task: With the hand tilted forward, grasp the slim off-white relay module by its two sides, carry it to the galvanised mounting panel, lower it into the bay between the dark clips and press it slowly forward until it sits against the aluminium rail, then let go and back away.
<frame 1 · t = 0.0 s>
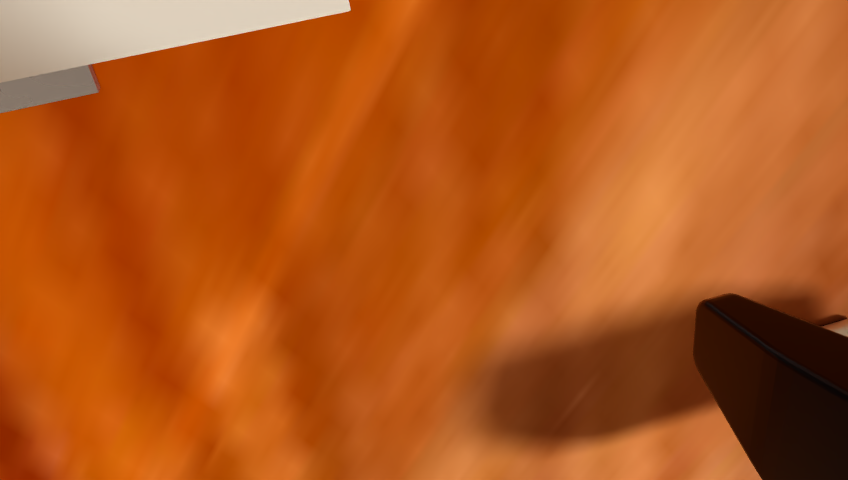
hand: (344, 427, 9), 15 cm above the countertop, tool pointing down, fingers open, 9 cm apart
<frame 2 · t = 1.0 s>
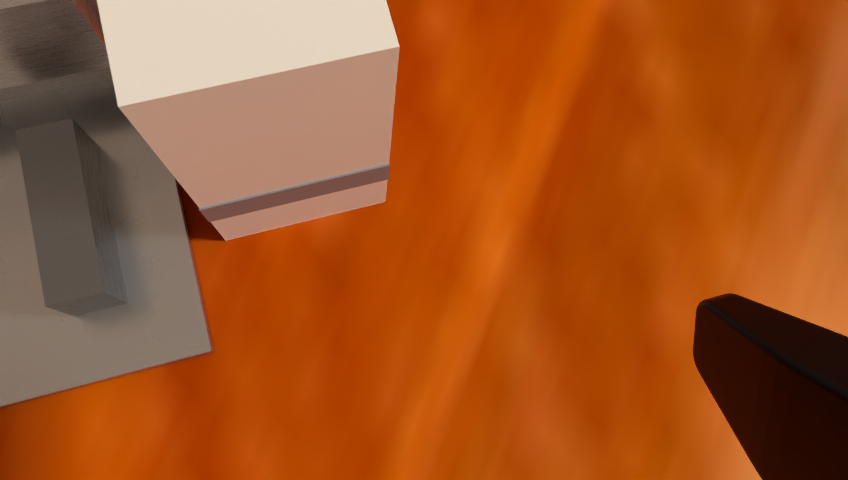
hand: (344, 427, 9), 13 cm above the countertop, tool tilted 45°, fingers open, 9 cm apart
module: (289, 153, 23), on the countertop
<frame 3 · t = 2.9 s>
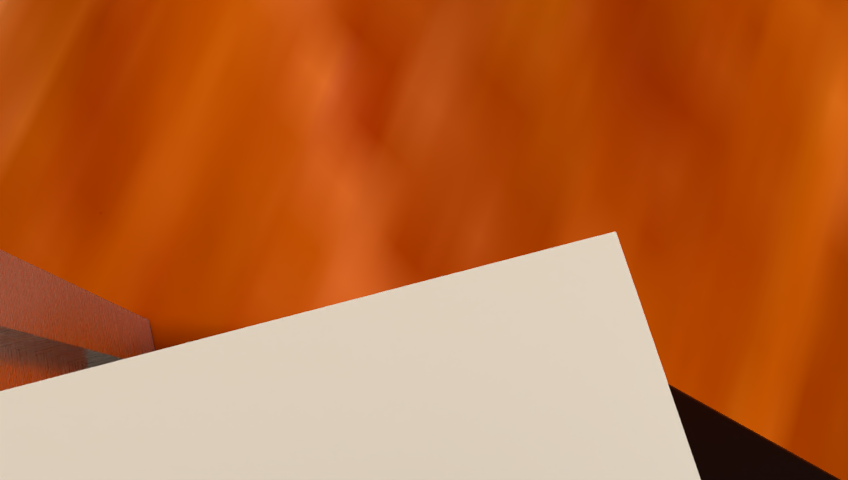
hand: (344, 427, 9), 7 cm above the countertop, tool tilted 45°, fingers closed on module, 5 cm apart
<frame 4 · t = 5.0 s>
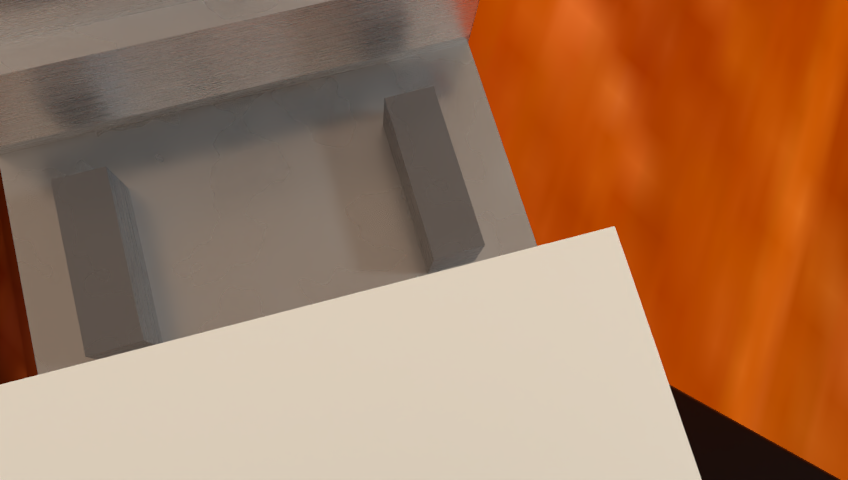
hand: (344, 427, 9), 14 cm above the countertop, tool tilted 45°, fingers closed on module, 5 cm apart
rail mount: (272, 204, 23), on the countertop
when the fingers open (7 cm above the countertop, at t = 7.0 s): module stays where it is, resting on rail mount.
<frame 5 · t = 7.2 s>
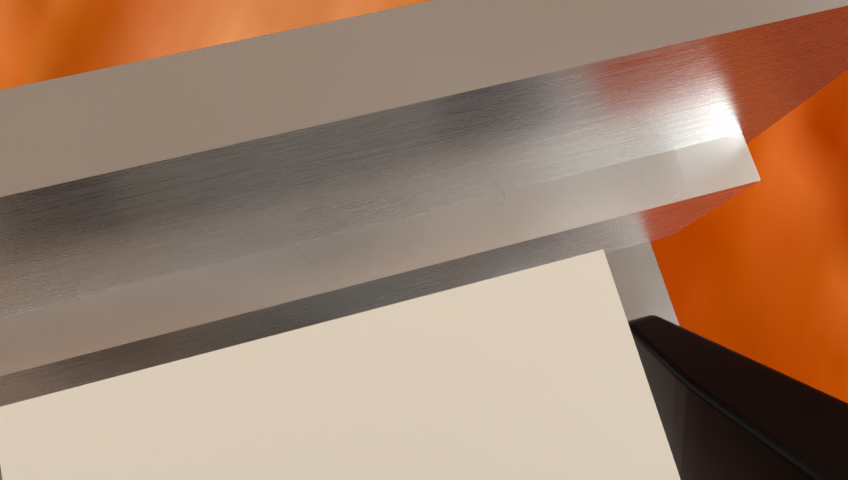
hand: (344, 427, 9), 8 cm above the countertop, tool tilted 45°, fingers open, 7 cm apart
rail mount: (364, 466, 16), on the countertop
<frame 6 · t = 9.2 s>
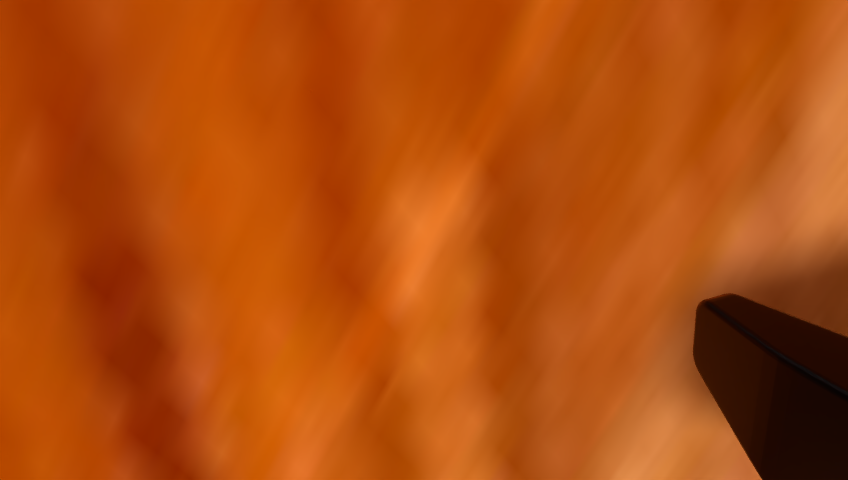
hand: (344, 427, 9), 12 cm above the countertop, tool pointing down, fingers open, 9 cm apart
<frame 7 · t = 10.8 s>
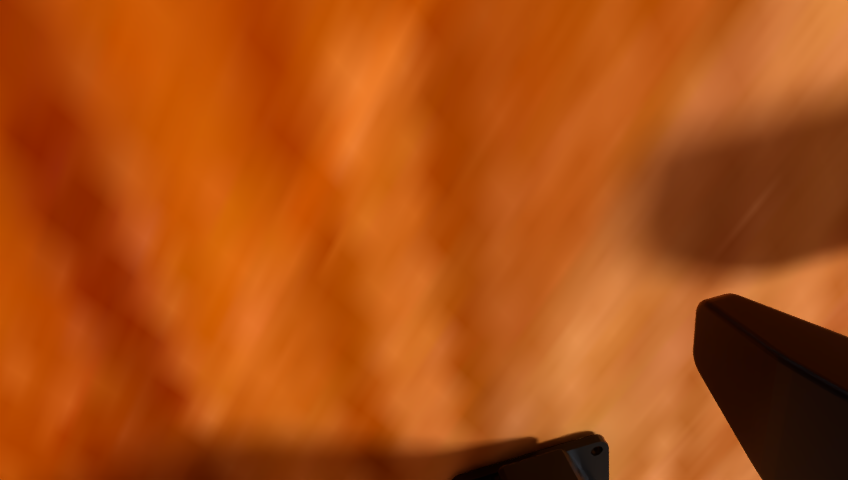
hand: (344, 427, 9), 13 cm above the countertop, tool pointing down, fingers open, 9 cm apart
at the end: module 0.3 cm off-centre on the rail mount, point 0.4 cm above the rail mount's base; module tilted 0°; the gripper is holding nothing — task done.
